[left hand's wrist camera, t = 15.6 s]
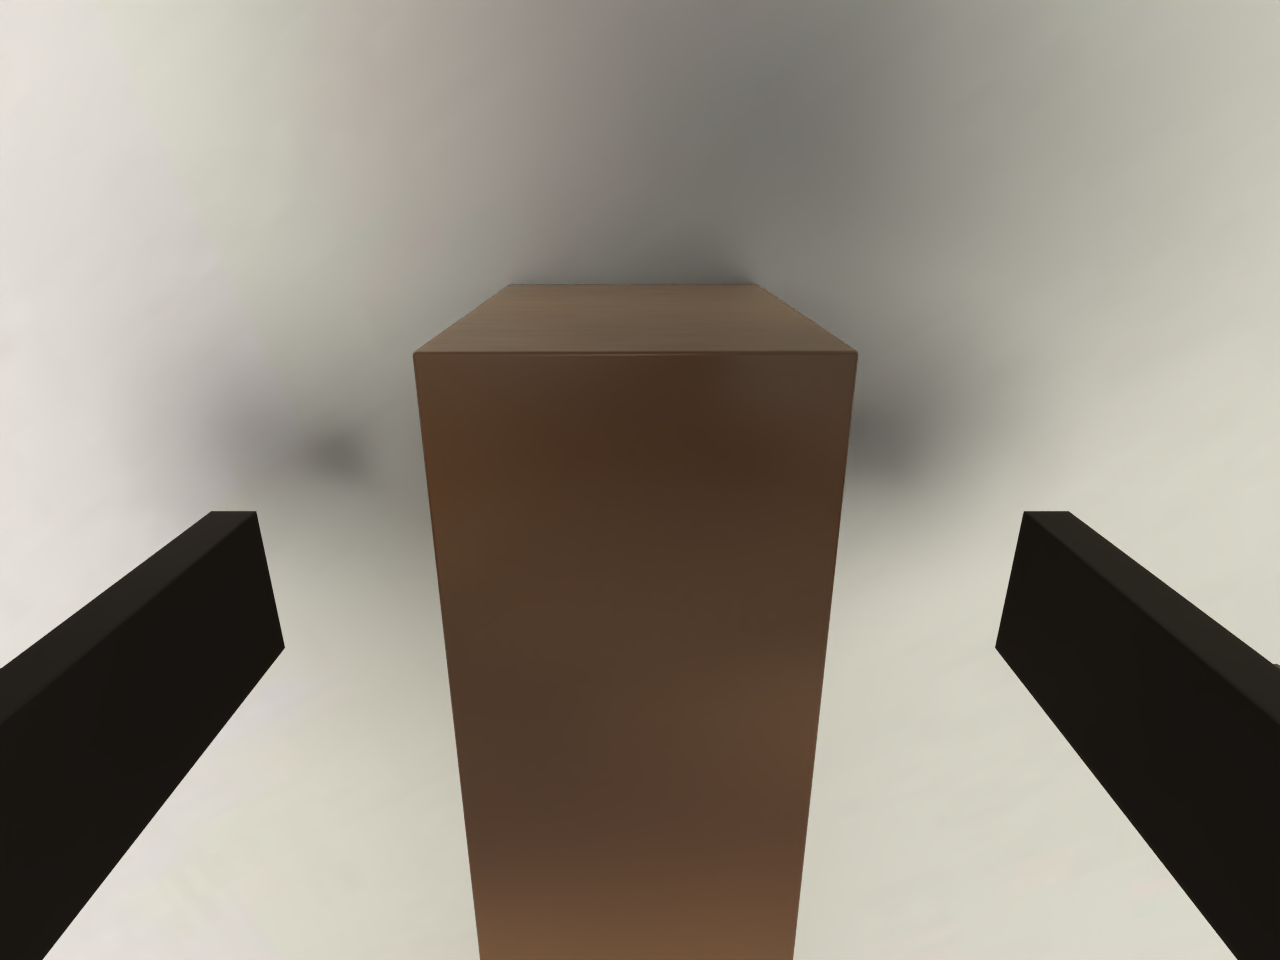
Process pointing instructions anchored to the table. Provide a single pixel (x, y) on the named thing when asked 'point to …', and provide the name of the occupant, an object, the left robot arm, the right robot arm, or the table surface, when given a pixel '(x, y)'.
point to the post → (635, 609)
